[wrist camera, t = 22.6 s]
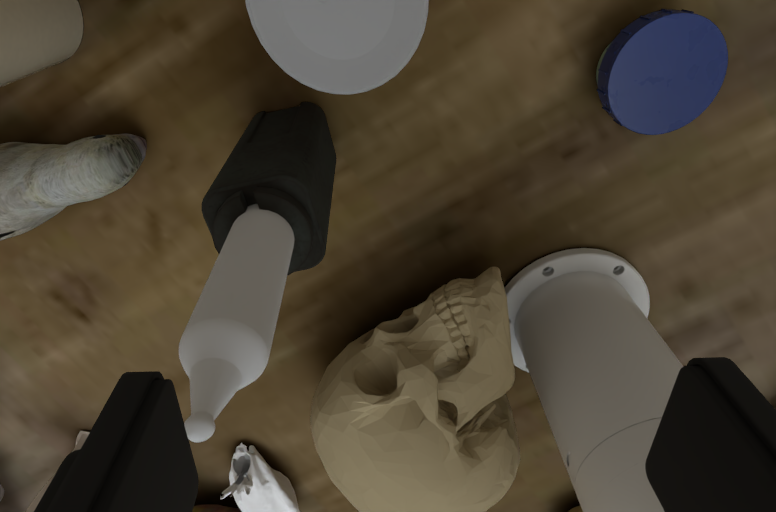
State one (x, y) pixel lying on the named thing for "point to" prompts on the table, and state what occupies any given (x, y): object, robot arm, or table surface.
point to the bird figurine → (258, 484)
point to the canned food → (339, 39)
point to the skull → (424, 406)
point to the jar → (37, 35)
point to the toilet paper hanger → (1, 492)
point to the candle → (256, 252)
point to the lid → (662, 71)
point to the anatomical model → (214, 508)
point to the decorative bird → (61, 176)
